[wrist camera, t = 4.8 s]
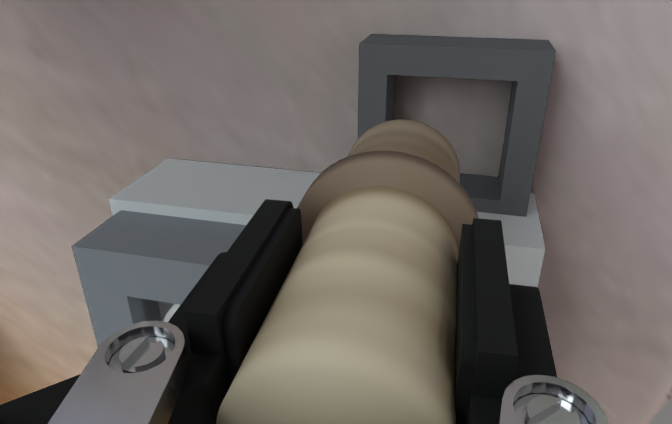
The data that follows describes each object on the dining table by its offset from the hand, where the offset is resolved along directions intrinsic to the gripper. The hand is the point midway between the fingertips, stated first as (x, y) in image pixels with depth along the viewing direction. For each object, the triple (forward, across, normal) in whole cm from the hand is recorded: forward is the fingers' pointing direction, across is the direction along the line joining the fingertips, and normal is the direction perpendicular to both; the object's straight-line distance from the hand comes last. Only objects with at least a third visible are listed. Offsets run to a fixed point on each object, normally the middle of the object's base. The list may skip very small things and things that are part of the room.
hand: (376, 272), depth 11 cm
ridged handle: (+5, 0, 0) cm, 5 cm away
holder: (+13, -1, +1) cm, 13 cm away
